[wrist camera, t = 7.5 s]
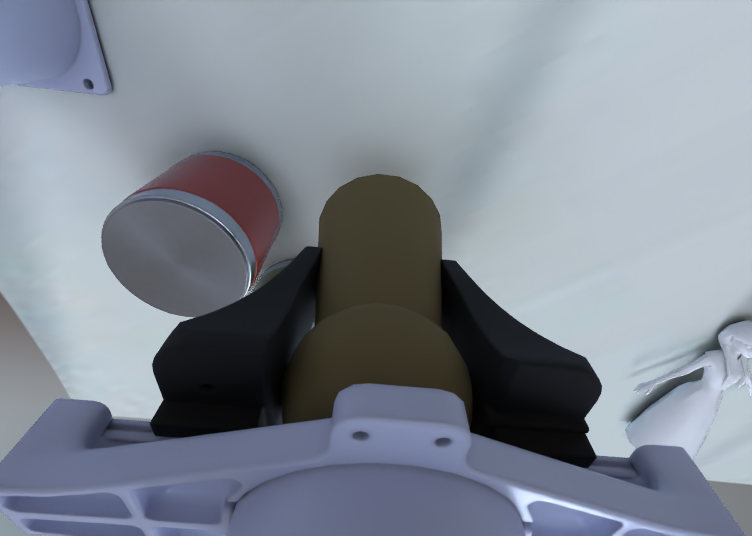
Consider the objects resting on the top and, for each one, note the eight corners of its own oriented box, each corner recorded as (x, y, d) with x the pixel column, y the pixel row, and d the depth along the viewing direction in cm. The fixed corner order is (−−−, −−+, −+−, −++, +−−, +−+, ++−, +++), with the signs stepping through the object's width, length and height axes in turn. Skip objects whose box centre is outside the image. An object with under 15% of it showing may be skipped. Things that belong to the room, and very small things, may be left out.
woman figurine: (604, 478, 35) (710, 336, 25) (581, 436, 38) (667, 300, 29) (719, 486, 35) (864, 350, 26) (685, 444, 39) (801, 312, 30)
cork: (392, 146, 15) (406, 328, 6) (465, 243, 18) (549, 472, 9) (292, 223, 17) (192, 443, 8) (370, 300, 20) (358, 531, 11)
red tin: (205, 261, 27) (154, 329, 21) (146, 165, 23) (61, 215, 17) (299, 241, 26) (273, 307, 20) (255, 136, 22) (205, 180, 16)
